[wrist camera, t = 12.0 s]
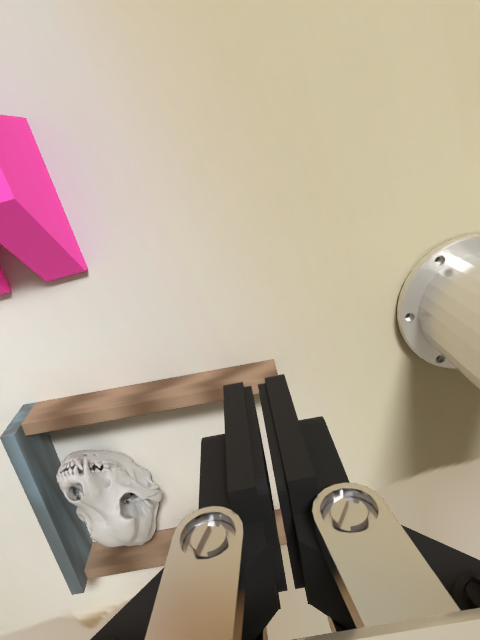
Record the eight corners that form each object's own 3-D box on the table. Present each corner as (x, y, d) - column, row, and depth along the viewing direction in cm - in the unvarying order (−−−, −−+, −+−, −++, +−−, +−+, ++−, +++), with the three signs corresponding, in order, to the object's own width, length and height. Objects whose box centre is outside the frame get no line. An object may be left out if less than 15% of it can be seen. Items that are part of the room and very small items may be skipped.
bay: (273, 359, 42) (281, 386, 37) (298, 514, 49) (307, 553, 44) (23, 405, 42) (-1, 437, 37) (85, 552, 49) (72, 594, 45)
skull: (118, 554, 46) (34, 573, 36) (105, 468, 50) (26, 462, 40) (184, 531, 45) (118, 543, 34) (166, 445, 49) (101, 432, 38)
